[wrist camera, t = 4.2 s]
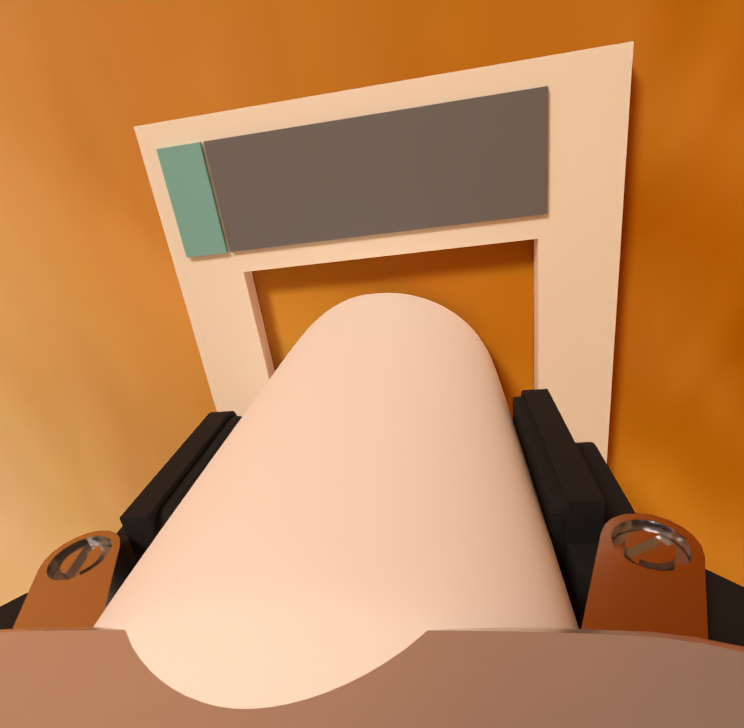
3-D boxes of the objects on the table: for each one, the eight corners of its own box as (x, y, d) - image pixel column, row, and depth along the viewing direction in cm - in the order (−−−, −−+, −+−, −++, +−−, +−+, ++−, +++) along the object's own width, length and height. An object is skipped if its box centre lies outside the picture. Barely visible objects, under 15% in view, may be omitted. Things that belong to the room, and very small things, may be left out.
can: (424, 243, 13) (402, 667, 2) (535, 421, 15) (831, 1153, 4) (248, 358, 15) (-226, 886, 4) (364, 503, 17) (244, 1145, 6)
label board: (593, 571, 17) (600, 587, 16) (272, 573, 19) (266, 589, 18) (623, 46, 11) (635, 40, 10) (146, 128, 13) (131, 126, 12)
